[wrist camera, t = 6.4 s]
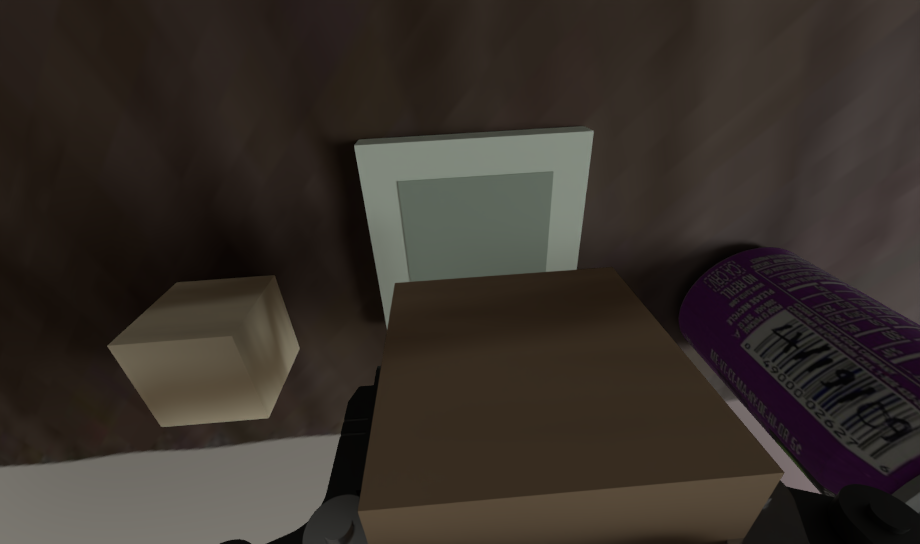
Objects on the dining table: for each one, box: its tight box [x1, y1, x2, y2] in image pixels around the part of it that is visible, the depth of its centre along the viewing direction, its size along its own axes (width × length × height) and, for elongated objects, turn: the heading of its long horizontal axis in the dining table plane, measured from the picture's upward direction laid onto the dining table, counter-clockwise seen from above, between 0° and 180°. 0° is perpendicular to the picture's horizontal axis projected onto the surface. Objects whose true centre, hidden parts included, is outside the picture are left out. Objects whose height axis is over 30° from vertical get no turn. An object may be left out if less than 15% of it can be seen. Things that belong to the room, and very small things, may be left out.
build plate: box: [354, 126, 594, 328], centre depth 19 cm, size 10×10×1 cm
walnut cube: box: [358, 267, 784, 544], centre depth 9 cm, size 6×6×6 cm
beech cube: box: [107, 275, 300, 427], centre depth 19 cm, size 5×5×5 cm
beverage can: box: [679, 247, 920, 514], centre depth 17 cm, size 7×7×12 cm
